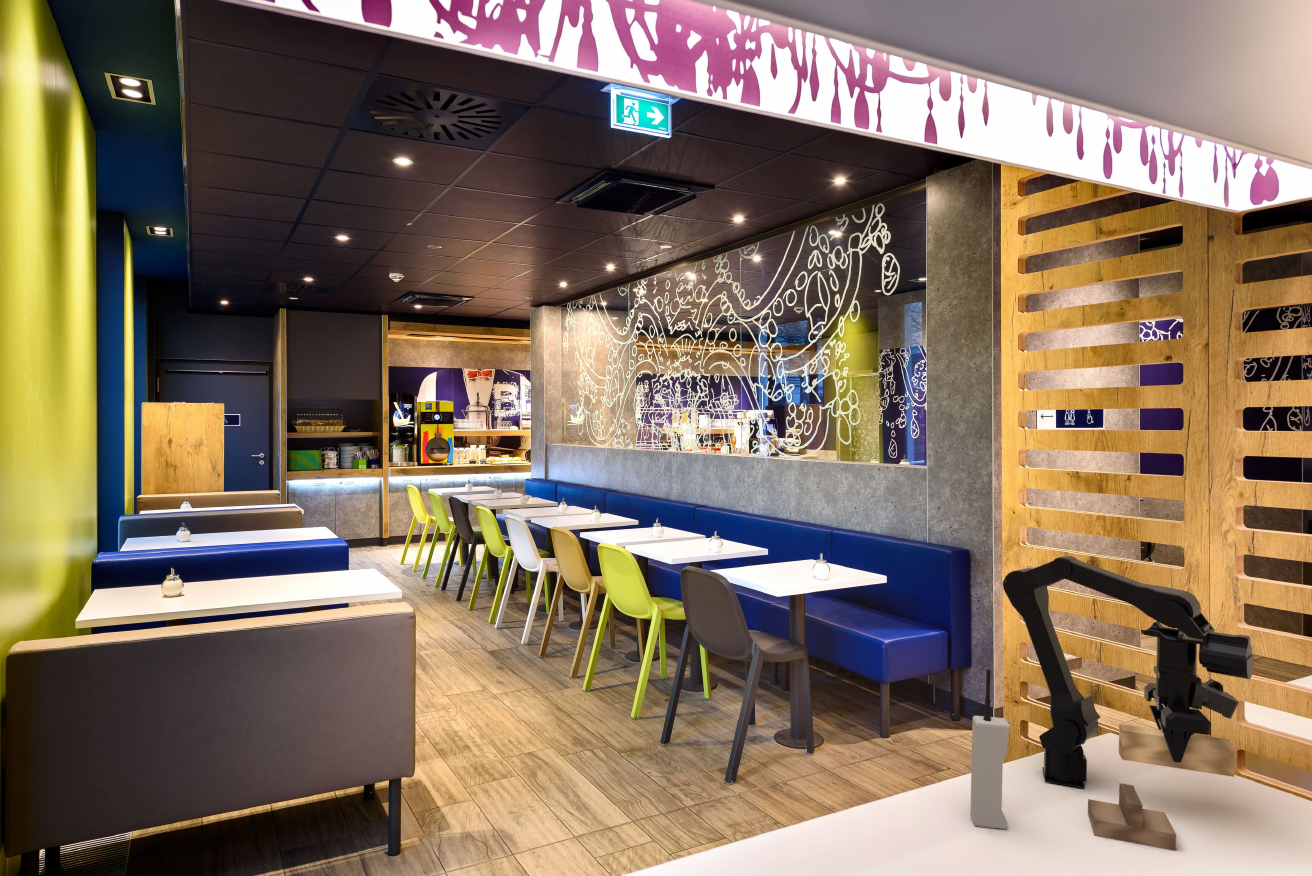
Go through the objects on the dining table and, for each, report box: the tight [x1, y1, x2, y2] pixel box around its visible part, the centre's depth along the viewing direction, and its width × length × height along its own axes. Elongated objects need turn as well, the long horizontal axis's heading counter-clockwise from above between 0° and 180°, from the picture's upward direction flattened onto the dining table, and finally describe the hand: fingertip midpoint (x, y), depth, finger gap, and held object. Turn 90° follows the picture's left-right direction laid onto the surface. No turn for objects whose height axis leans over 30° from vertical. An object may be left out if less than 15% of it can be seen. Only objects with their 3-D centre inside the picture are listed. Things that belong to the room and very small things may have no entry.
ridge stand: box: [1087, 782, 1177, 851], centre depth 127 cm, size 11×8×6 cm
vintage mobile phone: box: [969, 668, 1011, 830], centre depth 128 cm, size 4×5×25 cm
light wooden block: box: [1118, 723, 1236, 778], centre depth 134 cm, size 16×4×5 cm, turn 68°
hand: (1174, 757), depth 134 cm, fingers closed on light wooden block, 3 cm apart
